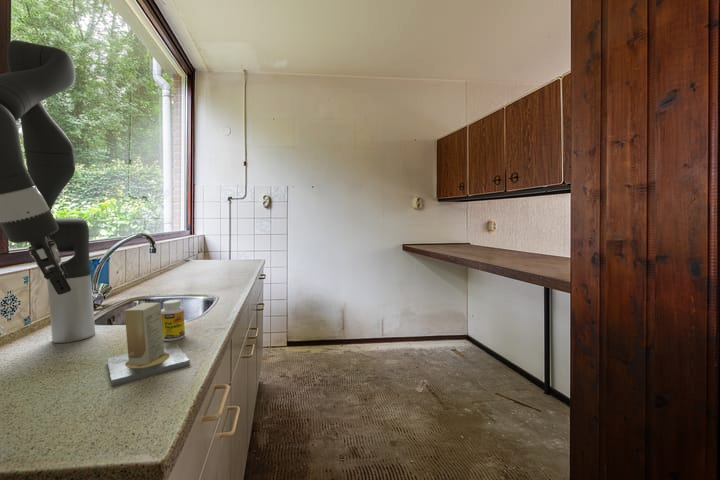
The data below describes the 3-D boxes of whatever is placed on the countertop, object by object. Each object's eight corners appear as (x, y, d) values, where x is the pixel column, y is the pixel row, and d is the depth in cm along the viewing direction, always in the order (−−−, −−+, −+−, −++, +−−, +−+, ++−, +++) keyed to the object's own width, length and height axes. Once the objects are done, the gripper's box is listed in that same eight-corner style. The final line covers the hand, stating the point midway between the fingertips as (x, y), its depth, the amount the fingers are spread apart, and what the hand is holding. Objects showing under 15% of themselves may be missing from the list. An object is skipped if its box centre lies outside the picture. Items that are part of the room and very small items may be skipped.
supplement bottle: (162, 343, 89) (160, 305, 88) (161, 337, 94) (159, 300, 93) (186, 338, 92) (184, 301, 91) (183, 333, 97) (181, 297, 96)
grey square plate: (107, 363, 77) (107, 357, 77) (176, 347, 86) (175, 342, 86) (111, 386, 66) (111, 380, 66) (189, 365, 75) (189, 359, 75)
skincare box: (147, 353, 79) (143, 301, 78) (165, 353, 79) (162, 301, 78) (127, 365, 73) (123, 309, 72) (146, 365, 73) (143, 309, 72)
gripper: (49, 213, 62) (89, 289, 68) (47, 201, 72) (82, 268, 78) (-7, 227, 57) (41, 306, 64) (-1, 212, 67) (40, 282, 74)
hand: (63, 285), depth 71 cm, fingers open, 8 cm apart
